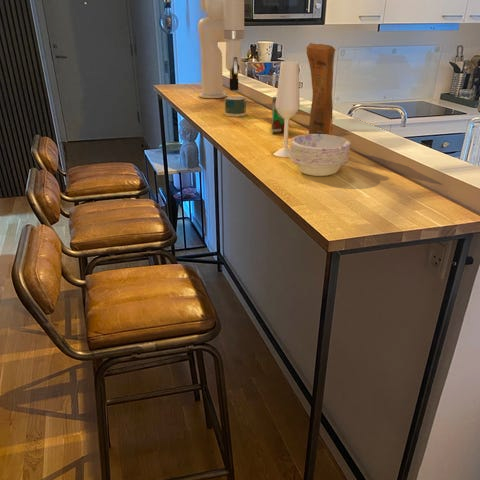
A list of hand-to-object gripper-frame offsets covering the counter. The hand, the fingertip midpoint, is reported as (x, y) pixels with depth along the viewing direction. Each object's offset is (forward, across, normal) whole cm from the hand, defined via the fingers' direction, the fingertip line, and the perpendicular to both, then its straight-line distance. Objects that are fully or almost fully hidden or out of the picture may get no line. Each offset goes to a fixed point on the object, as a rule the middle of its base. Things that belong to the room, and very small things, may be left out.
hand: (233, 89), depth 194 cm
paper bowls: (+9, +82, +12) cm, 84 cm away
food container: (+9, +34, +12) cm, 37 cm away
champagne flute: (+9, +64, +7) cm, 65 cm away
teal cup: (+3, +3, 0) cm, 4 cm away
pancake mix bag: (+9, +59, +18) cm, 62 cm away
